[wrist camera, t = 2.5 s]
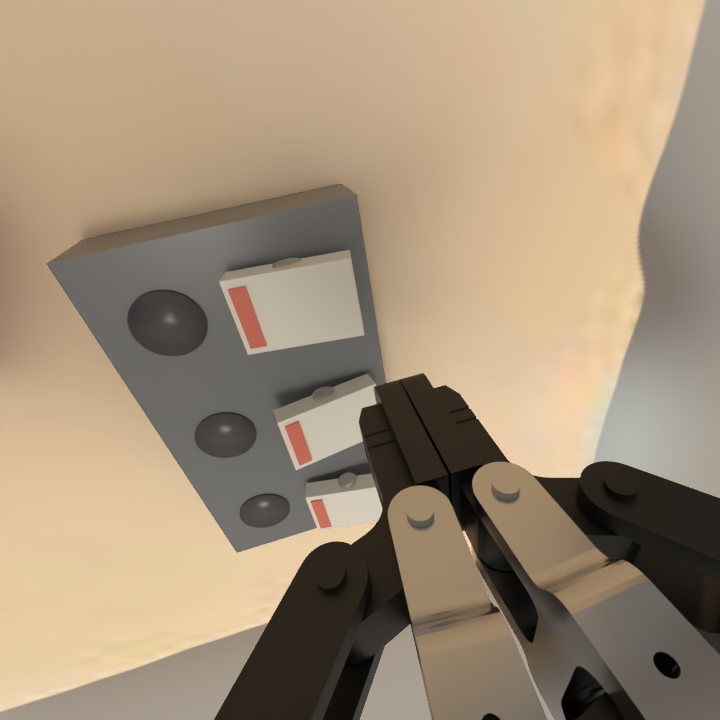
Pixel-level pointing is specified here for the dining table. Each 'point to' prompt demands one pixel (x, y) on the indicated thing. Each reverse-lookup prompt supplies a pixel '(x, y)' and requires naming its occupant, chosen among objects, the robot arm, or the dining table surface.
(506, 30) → the dining table surface
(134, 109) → the dining table surface
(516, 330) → the dining table surface
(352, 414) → the rocker
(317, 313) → the rocker
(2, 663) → the dining table surface
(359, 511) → the rocker
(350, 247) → the grey control panel
